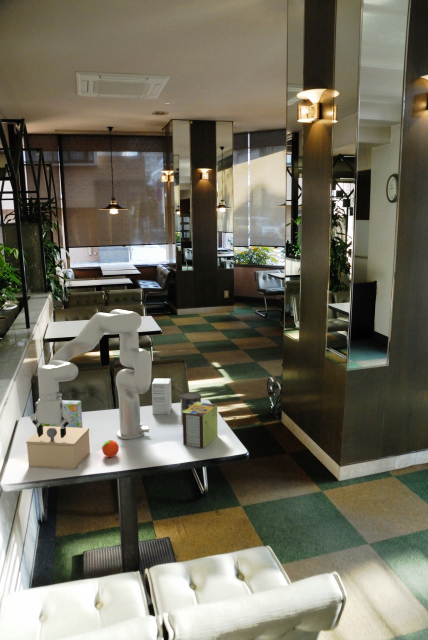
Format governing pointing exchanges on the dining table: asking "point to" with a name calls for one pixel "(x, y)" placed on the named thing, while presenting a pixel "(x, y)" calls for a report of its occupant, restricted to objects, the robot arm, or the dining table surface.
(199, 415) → the protein box
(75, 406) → the snack box
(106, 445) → the clementine
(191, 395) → the coffee can
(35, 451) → the carton
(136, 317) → the robot arm
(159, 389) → the supplement box
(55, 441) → the lid flap
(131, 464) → the dining table surface
